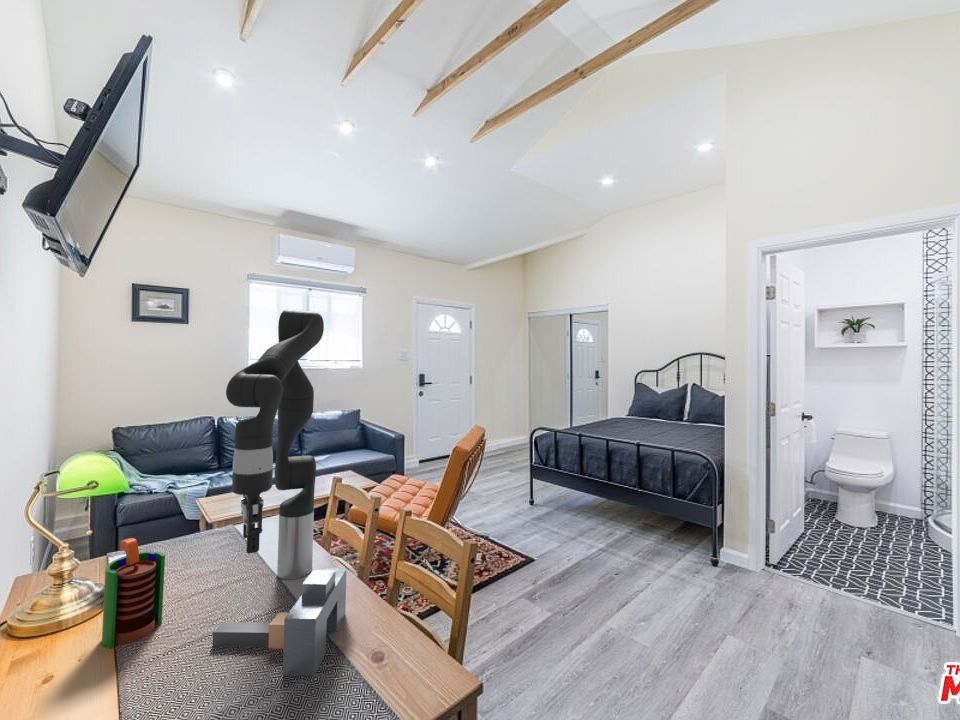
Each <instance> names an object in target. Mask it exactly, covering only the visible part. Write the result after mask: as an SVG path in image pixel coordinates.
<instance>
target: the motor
mask: <svg viewBox="0 0 960 720" xmlns="http://www.w3.org/2000/svg"><path fill="white" fill-rule="evenodd" d="M119 551H123V552H125V554H126V556H124V557H121V558H119V559H116V560H114V561H112V562H111V563H109V564H108V563H107V565H106V567H105V571H104V572H105V573H104V589H103V590H104V593H103V609H102V610H103V612H102V614H103V615H102V627H101V629H102V630H101V631H102V633H101V645H102V646H103V647H105V648H106V649H107V648H108V649H112V648H114V647H115V645H127V644H131V643H134V642H137V641H139V640H142V639H144V638H146V637H147V636H149V635H150V634H151V633H153V631H154V630H155V627H156V624H157V625H159V626H160V625H162V624H163V621H162V620H163V607H164V605H163V604H164V602H163V601H164V585H165V583H164V582H165V562H166V554H164V553H163V552H161V551H142V552H140V551H139V544H138V540H137V539H136V538H134V537H130V538H129V537H128V538H125V539H122V540H120V546H119Z"/></svg>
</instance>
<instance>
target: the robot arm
mask: <svg viewBox="0 0 960 720" xmlns="http://www.w3.org/2000/svg"><path fill="white" fill-rule="evenodd" d="M278 318H279V319H278V327H277V329H278V330H277V331H278V332H277V333H278V334H277V335H278V336H277V338H278V342H277V343H275V344H273V345H272V346H270V347H269V348H268V349H266V351H264V352H263V354H262V355H261V356H260V357H259V358H258V360H257V361H255V362H253V363H251V364H249V365H247V366H246V367H244V368H242V369H240V370H239V371H238V372H236V373H235V374H234V375H233V376H232V377H231V378H230V379H229V382H228V383H227V384H226V390H225V396H226V398H227V400H228V402H229V403H230V404H231V405H233V406H235V407H237V408H259V411H258V413H257V415H256V416H254V417H250V418H249V417H248V418H243V419H240V420H239V421H237V422H236V424H235V429H234V430H235V431H234V434H235V436H234V453H233V457H232V478H231V481H232V484H231V491H232V493H234V494H235V495H239V496H242V498H241V499H240V507H241V508H240V514H241V515H242V516H241V518H242V521H243V525H242V528H243V529H242V531H243V532H242V537H243V539H246V553H247V554H254V553H258V552H259V551H260V534H262V532H263V518H264V517H263V515H264V514H263V513H264V512H263V508H264V499H263V496H261V494H263V493H266V492H268V491H270V490H271V489H272V487H273V474H274V485H275V488H276V490H278V491H290V490H298V489H299V490H300V489H301V491H300V492H298V493H296V494H295V495H294V496H291V497H289V498H287V499H285V500H283V501H282V502H281V503H280V504H279V508H278V510H279V511H278V542H277V543H278V544H277V545H278V546H277V547H278V548H277V571H276V573H277V574H276V575H277V577H278V578H279V579H282V580H297V579H301V578H303V577H306V576H308V575H310V573H311V572H312V571H313V557H314V556H313V553H314V552H313V551H314V520H315V519H314V517H315V516H314V515H315V487H316V475H317V474H316V473H317V462H316V458H315V457H314V456H313V455H297V456H295V455H294V456H289V453H290V451H291V448H292V445H293V444H294V442H295V440H296V439H297V437H298V435H299V434H300V433H301V431H302V430H303V429H304V428H305V426H306V424H308V422H309V421H310V418H311V417H312V416H313V412H314V401H315V391H314V387H313V385H312V383H311V380H310V379H309V377H308V376H307V374H306V373H305V371H304V369H303V368H302V366H301V365H300V364H301V363H300V362H299V361H300V359H302V358H303V357H304V356H305V355H306V354H307V353H309V352H310V351H311V350H312V349H313V348H315V347H316V346H317V345H318V344H319V342H321V340H322V338H323V335H324V332H325V325H324V324H325V323H324V318H323V317H322V315H321V314H320V313H319V312H316V311H309V310H308V311H307V310H297V309H296V310H295V309H285V310H283V311H281V313H280V315H279V317H278ZM276 416H277V442H276V443H277V444H276V446H277V447H276V454H275V465H274V454H273V429H274V423H275V419H276ZM274 466H275V467H274ZM273 470H274V473H273ZM256 526H257V527H256Z"/></svg>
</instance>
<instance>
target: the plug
mask: <svg viewBox="0 0 960 720" xmlns="http://www.w3.org/2000/svg"><path fill="white" fill-rule="evenodd" d="M289 612H290V611H289ZM289 612H285V611H284V612H283V611H282V612H280V611H279V612H277V614H276V615H275V617H274V618H273V619H272V620H271V622H248V621H247V622H244V621H243V622H241V621H240V622H239V621H238V622H235V621H233V622H231V621H229V622H227V621H224V622H223V621H222V622H221V623H220V624H219V625H218V626H217V628H216V629H214V630H213V631H212V647H240V648H241V647H247V648H248V647H250V648H251V647H255V648H257V647H258V648H265V647H266V648H268V649H280V650H281V649H283V650H284V619H285V617H286V616H287V614H288V613H289Z"/></svg>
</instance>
